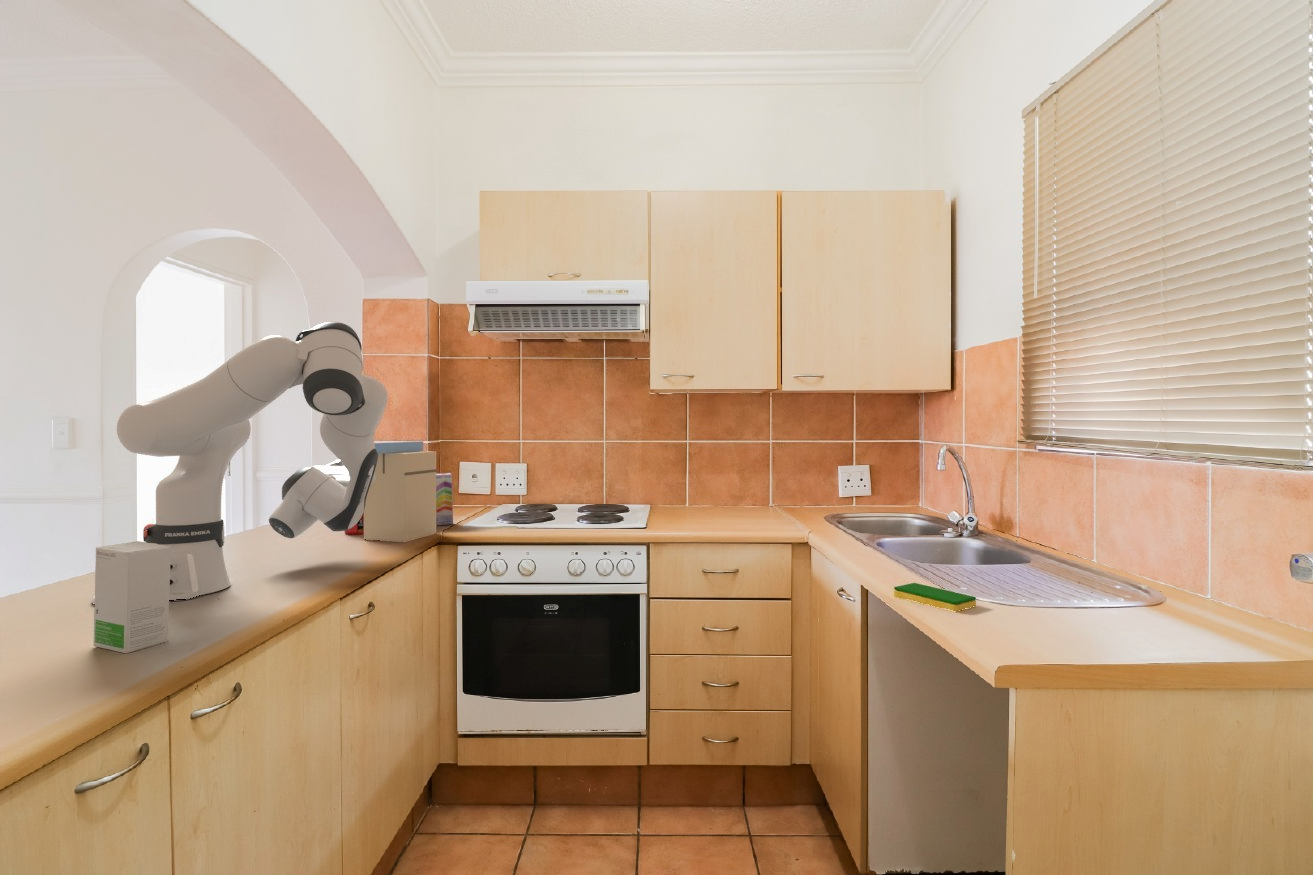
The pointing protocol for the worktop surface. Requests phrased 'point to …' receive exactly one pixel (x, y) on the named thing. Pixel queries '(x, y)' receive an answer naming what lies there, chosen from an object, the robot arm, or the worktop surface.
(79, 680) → the worktop surface
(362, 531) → the canned food
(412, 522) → the kraft carton
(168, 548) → the skincare box
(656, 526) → the worktop surface
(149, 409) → the robot arm
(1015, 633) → the worktop surface
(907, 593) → the dish sponge
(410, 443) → the bar
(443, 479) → the cake pan box
